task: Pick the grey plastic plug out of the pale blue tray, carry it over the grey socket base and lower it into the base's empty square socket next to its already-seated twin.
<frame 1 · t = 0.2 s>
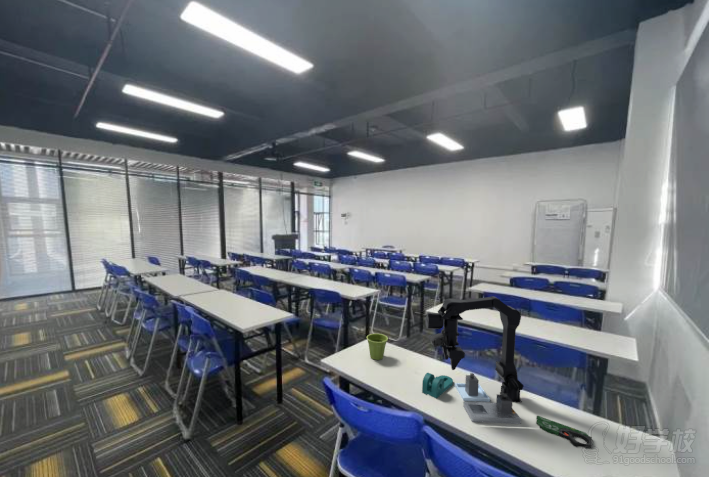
hand: (449, 364, 121), 14 cm above the table, fingers open, 9 cm apart
plant pot: (376, 357, 156), on the table
tray: (471, 394, 123), on the table
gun: (562, 435, 101), on the table
grey socket base: (490, 415, 109), on the table
plug: (471, 393, 123), resting on tray
bracket: (439, 388, 128), on the table
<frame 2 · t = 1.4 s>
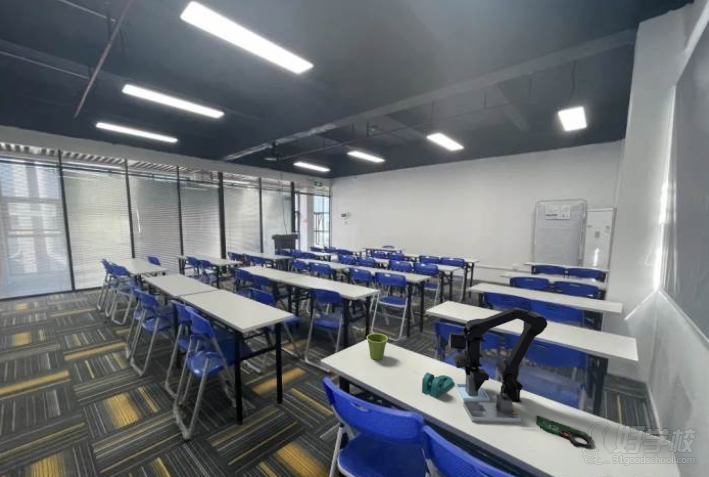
hand: (472, 384, 123), 4 cm above the table, fingers open, 9 cm apart
nothing on the table moved.
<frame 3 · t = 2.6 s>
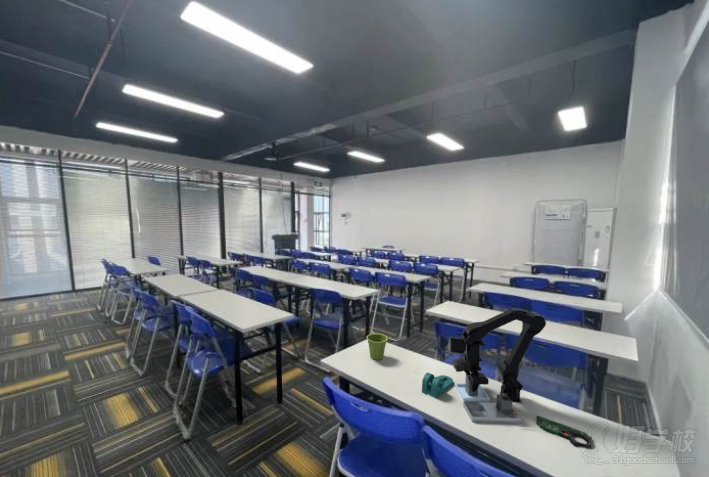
hand: (471, 388, 123), 3 cm above the table, fingers closed on plug, 4 cm apart
plug: (471, 393, 123), resting on tray, touching gripper
everything else where it was.
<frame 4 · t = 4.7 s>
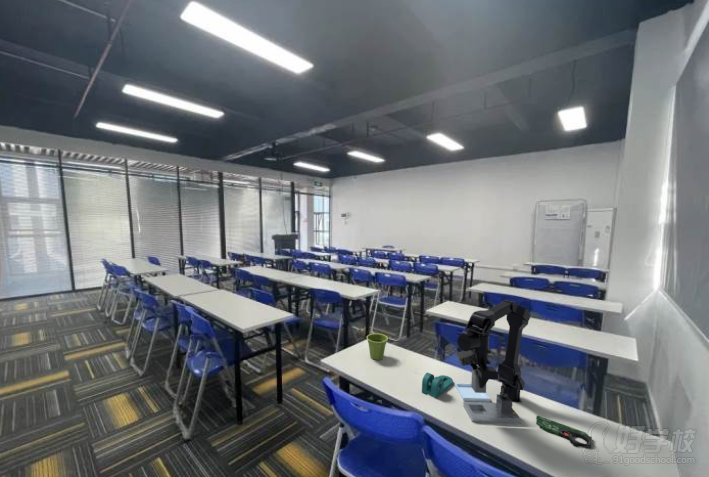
hand: (478, 384, 109), 12 cm above the table, fingers closed on plug, 4 cm apart
plug: (478, 389, 109), point 10 cm above the table, touching gripper
everything else where it was.
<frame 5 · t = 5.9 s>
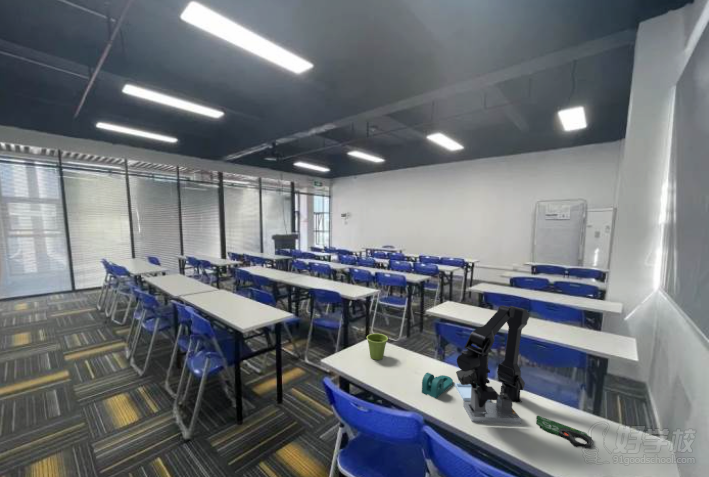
hand: (478, 403, 109), 5 cm above the table, fingers closed on plug, 4 cm apart
plug: (477, 408, 109), point 3 cm above the table, touching gripper
everything else where it was.
when the fingers open (3 cm above the table, at t = 7.0 s): plug stays where it is, resting on grey socket base.
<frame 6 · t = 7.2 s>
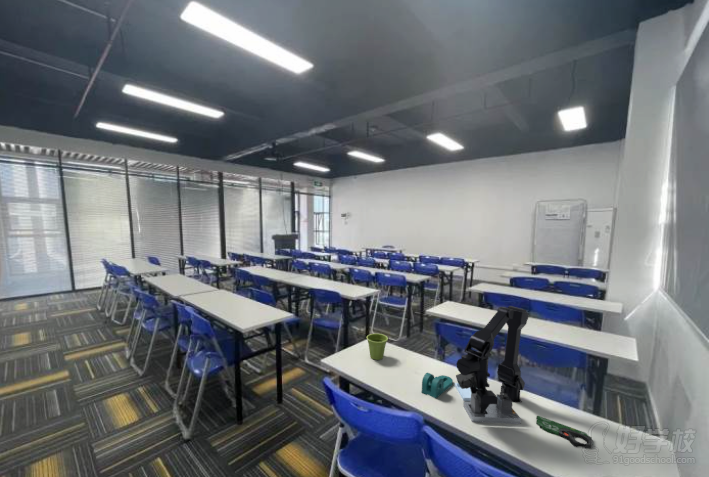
hand: (478, 407, 109), 3 cm above the table, fingers open, 6 cm apart
plug: (477, 414, 109), resting on grey socket base
everything else where it was.
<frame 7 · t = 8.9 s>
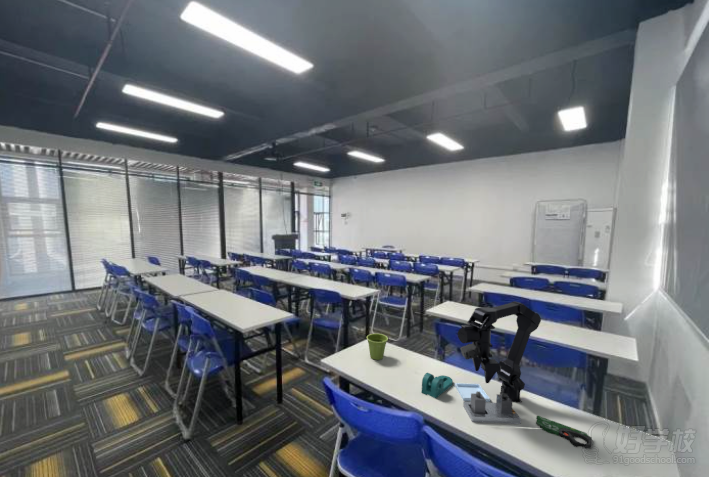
hand: (481, 376, 115), 12 cm above the table, fingers open, 9 cm apart
nothing on the table moved.
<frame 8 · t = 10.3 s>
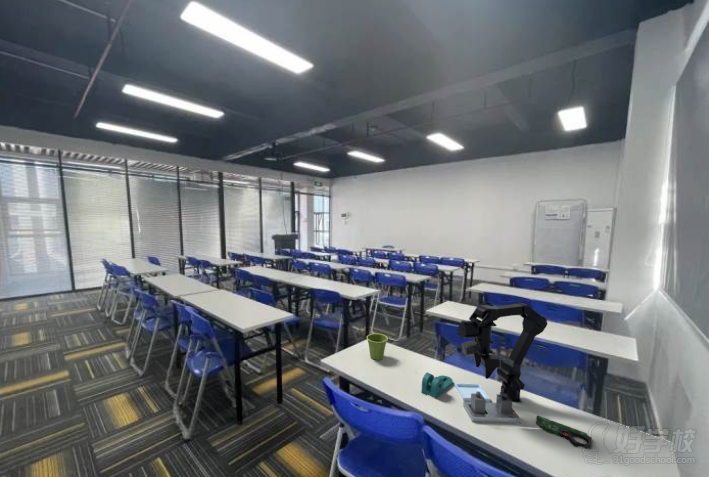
hand: (482, 372, 118), 13 cm above the table, fingers open, 9 cm apart
nothing on the table moved.
at the end: plug 0.1 cm from the target spot on the grey socket base, point 0.5 cm above the grey socket base's base; plug tilted 0°; the gripper is holding nothing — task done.
